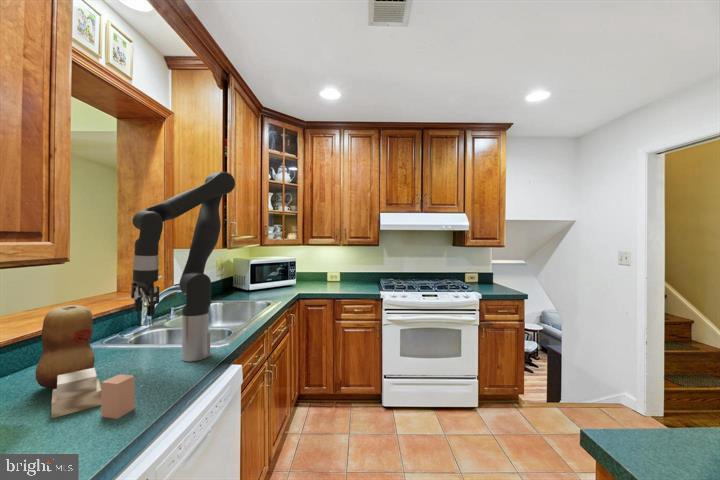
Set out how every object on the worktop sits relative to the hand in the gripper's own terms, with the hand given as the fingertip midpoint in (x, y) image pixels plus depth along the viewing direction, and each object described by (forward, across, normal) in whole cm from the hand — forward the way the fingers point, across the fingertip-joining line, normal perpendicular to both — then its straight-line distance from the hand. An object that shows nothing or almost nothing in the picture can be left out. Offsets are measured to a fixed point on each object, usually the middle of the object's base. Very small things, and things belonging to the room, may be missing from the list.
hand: (144, 313), depth 112 cm
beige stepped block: (+19, -11, +22) cm, 31 cm away
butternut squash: (+21, +6, +19) cm, 29 cm away
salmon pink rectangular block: (+18, -26, +18) cm, 36 cm away
